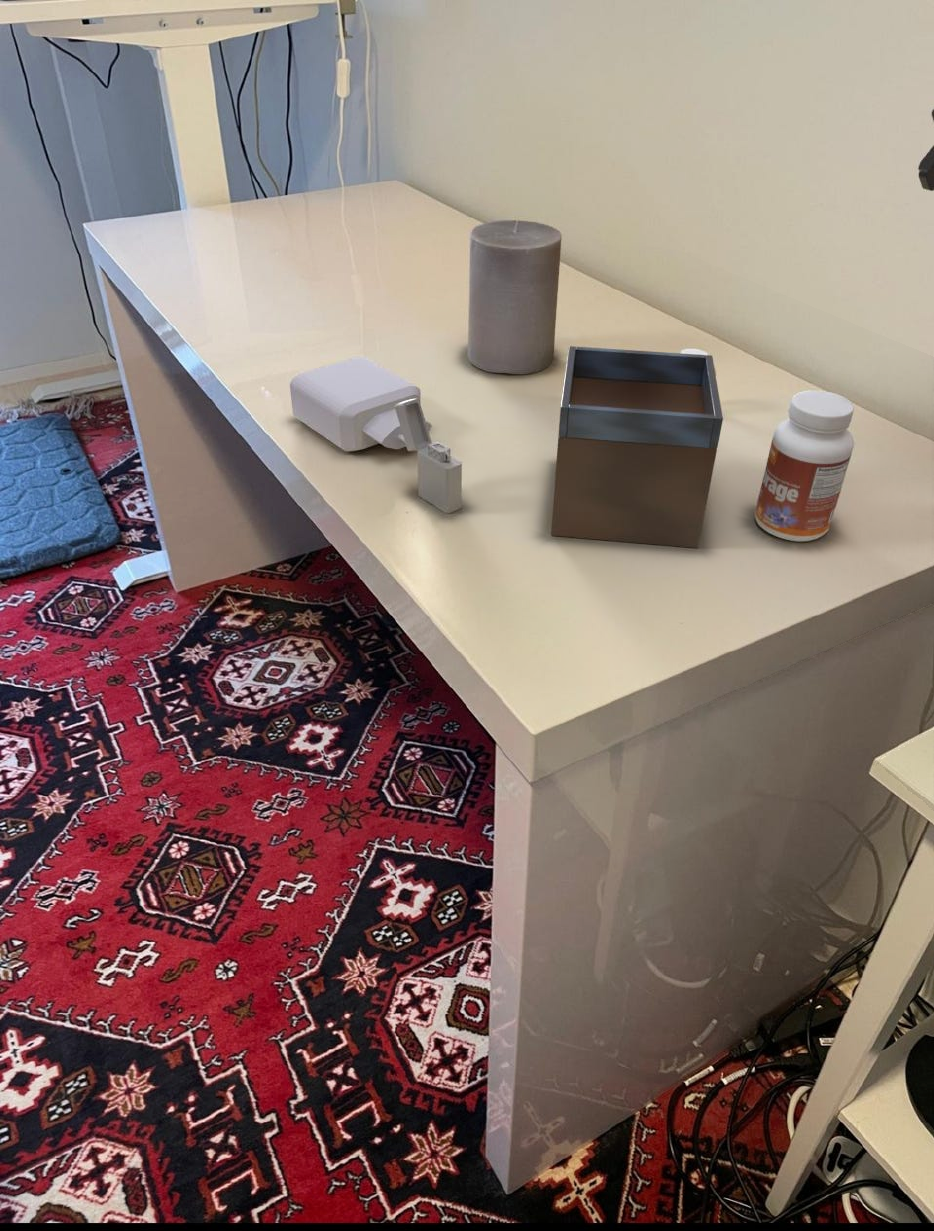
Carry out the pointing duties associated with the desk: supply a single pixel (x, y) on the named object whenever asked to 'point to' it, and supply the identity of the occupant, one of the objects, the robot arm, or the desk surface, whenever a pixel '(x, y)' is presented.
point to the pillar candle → (513, 296)
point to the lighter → (431, 460)
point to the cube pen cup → (636, 446)
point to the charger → (352, 403)
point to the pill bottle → (806, 467)
